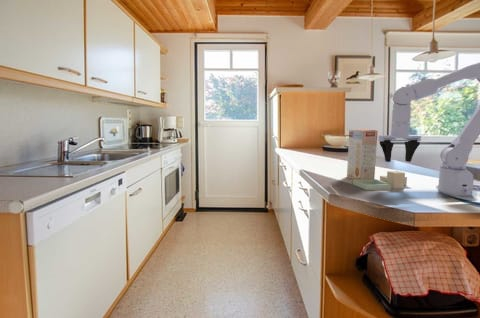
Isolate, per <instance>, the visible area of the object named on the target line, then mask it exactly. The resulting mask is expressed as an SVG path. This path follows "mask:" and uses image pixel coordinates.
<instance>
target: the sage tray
mask: <svg viewBox="0 0 480 318" xmlns="http://www.w3.org/2000/svg"><path fill="white" fill-rule="evenodd" d="M352 185H354V186H356V187H357V188H358V187H359V188H361V189H363V190H365V191H377V190H378V191H385V190H387V191H389V190H390V191H391V190H392V189H391V184H388V183H386V182H383V181H380V179H376V178H374V179H353V180H352Z"/></svg>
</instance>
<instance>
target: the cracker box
mask: <svg viewBox="0 0 480 318" xmlns="http://www.w3.org/2000/svg"><path fill="white" fill-rule="evenodd" d="M348 132H349V133H348V147H347V148H348V152H347V168H346V169H347V170H346V178H348V179H349V180H352V181H353V179H375V177H376V176H375V175H376V174H375V173H376V159H377V148H378V147H377V146H378V130H375V129H365V128H364V129H363V128H362V129H357V128H354V129H349V131H348Z"/></svg>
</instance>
